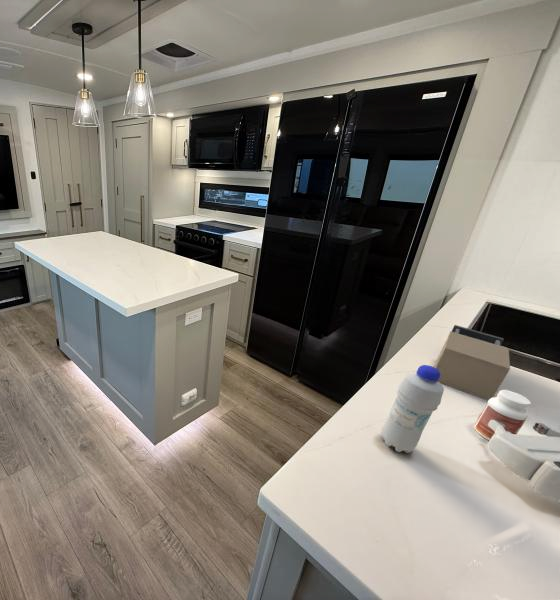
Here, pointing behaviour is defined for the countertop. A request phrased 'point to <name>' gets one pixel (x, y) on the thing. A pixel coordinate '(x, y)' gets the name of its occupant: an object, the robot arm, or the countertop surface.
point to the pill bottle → (503, 413)
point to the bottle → (412, 408)
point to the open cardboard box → (472, 365)
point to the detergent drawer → (477, 335)
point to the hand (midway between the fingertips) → (514, 423)
